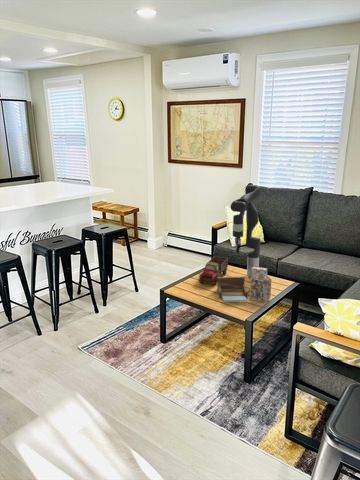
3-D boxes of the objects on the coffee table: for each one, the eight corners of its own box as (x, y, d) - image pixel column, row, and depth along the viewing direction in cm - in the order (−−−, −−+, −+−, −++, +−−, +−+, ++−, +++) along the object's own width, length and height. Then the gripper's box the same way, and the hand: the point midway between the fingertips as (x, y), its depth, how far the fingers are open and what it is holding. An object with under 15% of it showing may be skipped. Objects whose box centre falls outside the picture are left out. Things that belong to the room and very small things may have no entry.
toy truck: (197, 284, 291) (197, 266, 287) (214, 270, 321) (215, 253, 317) (214, 287, 284) (214, 269, 280) (230, 272, 314) (230, 256, 310)
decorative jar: (265, 303, 257) (266, 278, 252) (249, 299, 263) (250, 275, 258) (271, 296, 267) (272, 273, 262) (255, 293, 273) (256, 270, 268)
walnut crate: (217, 289, 281) (217, 277, 278) (244, 289, 280) (244, 276, 278) (219, 298, 265) (219, 285, 262) (247, 298, 265) (248, 285, 262)
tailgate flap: (222, 296, 264) (223, 300, 254) (244, 295, 264) (247, 299, 254) (222, 297, 265) (223, 301, 255) (244, 297, 264) (247, 301, 254)
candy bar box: (266, 288, 281) (267, 268, 276) (264, 291, 277) (265, 270, 272) (252, 286, 286) (253, 266, 281) (250, 288, 282) (251, 268, 277)
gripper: (231, 227, 270) (231, 250, 275) (234, 232, 257) (233, 256, 262) (241, 227, 270) (241, 249, 275) (244, 232, 257) (244, 255, 262)
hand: (237, 252), depth 269 cm, fingers closed
